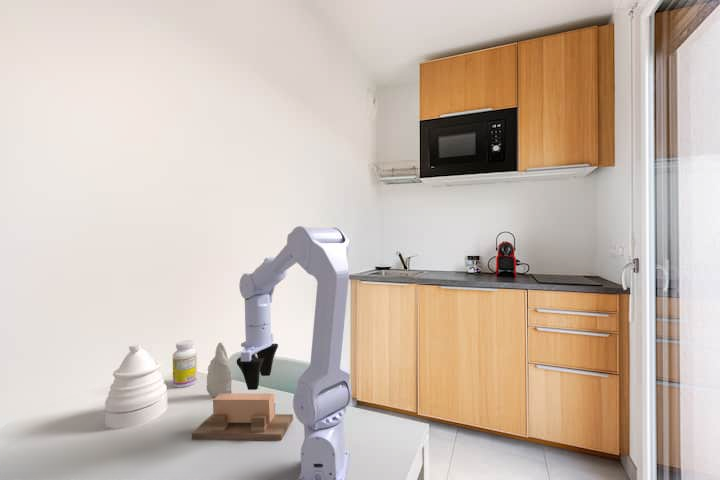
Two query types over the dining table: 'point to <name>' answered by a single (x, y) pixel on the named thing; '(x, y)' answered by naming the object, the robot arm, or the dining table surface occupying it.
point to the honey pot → (136, 391)
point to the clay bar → (244, 406)
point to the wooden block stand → (244, 428)
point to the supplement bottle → (184, 364)
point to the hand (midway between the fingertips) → (259, 381)
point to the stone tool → (219, 373)
